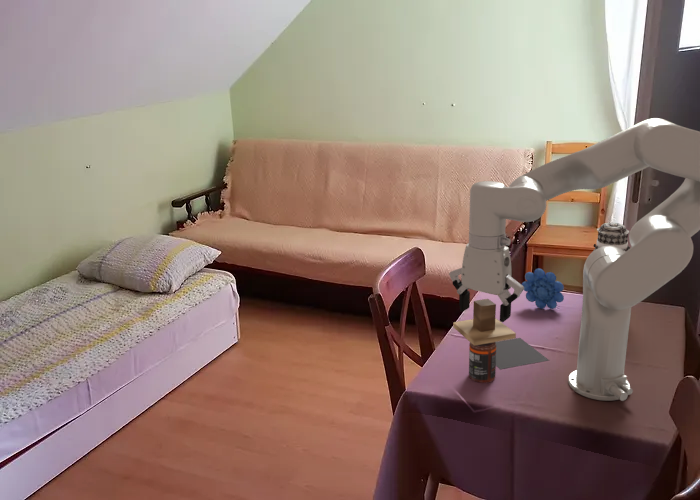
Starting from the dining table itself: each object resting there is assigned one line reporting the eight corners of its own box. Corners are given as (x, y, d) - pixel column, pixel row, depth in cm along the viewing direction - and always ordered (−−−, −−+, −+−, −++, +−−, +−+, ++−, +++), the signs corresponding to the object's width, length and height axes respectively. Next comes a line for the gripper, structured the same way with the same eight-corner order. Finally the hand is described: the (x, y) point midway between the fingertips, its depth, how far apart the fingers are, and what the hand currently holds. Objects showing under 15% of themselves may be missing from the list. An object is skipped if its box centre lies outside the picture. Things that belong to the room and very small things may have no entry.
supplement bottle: (493, 371, 146) (495, 327, 143) (496, 384, 140) (498, 338, 137) (467, 371, 147) (468, 326, 143) (469, 384, 141) (470, 338, 138)
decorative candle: (619, 320, 171) (629, 231, 163) (584, 313, 176) (592, 227, 168) (626, 308, 178) (635, 222, 171) (591, 302, 183) (599, 219, 175)
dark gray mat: (549, 361, 150) (549, 360, 150) (500, 370, 146) (500, 369, 146) (520, 339, 162) (520, 337, 162) (474, 347, 158) (474, 345, 158)
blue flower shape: (518, 312, 178) (520, 272, 174) (521, 303, 184) (523, 264, 180) (562, 316, 174) (565, 275, 170) (563, 307, 180) (566, 267, 176)
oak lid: (515, 338, 137) (517, 307, 135) (474, 345, 134) (475, 314, 132) (492, 320, 146) (493, 291, 144) (453, 327, 143) (453, 297, 141)
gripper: (533, 242, 131) (528, 318, 136) (459, 230, 142) (458, 300, 147) (517, 251, 126) (513, 330, 131) (442, 238, 136) (441, 311, 141)
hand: (484, 314), depth 139 cm, fingers open, 9 cm apart
